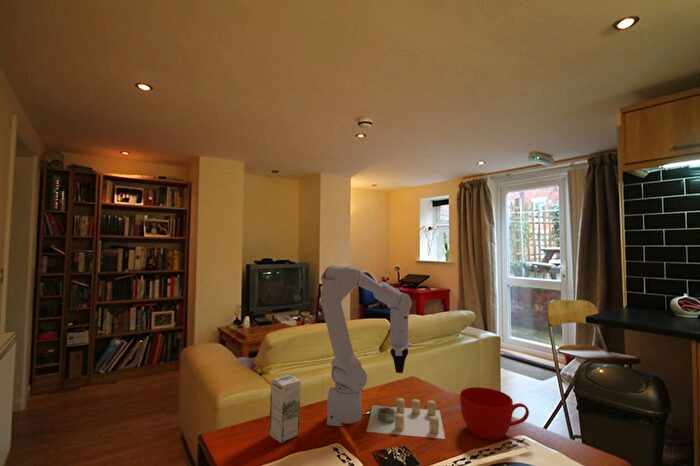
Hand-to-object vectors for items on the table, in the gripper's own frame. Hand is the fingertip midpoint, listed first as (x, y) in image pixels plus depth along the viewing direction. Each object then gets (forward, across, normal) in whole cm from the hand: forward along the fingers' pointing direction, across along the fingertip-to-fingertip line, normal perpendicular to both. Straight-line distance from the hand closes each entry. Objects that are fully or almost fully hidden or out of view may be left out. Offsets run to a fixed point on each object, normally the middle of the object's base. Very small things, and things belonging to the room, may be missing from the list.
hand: (399, 372), depth 111 cm
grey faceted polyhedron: (+8, -14, +3) cm, 17 cm away
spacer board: (+9, -14, -2) cm, 17 cm away
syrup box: (+10, -26, +29) cm, 40 cm away
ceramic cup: (+10, -16, -25) cm, 31 cm away
